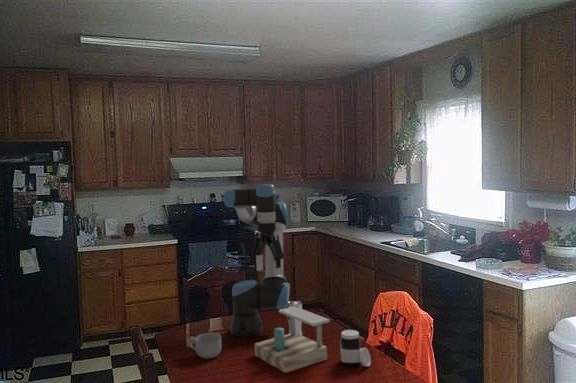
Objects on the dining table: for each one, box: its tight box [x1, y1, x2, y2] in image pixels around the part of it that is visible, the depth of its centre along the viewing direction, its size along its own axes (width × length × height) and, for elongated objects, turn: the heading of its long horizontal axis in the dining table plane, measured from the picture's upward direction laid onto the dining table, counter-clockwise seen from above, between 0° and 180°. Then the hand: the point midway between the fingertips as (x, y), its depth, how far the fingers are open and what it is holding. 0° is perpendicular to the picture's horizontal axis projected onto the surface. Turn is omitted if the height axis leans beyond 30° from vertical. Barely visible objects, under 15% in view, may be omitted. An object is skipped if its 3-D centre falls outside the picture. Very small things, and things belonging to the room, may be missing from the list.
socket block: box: [254, 333, 328, 373], centre depth 199 cm, size 22×20×5 cm
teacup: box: [187, 332, 222, 360], centre depth 204 cm, size 14×11×8 cm
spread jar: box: [339, 329, 372, 368], centre depth 191 cm, size 12×11×12 cm
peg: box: [273, 327, 285, 352], centre depth 196 cm, size 4×4×12 cm
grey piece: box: [278, 306, 330, 348], centre depth 203 cm, size 24×8×11 cm, turn 35°
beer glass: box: [286, 300, 303, 336], centre depth 224 cm, size 7×7×15 cm
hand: (268, 273), depth 206 cm, fingers open, 13 cm apart
